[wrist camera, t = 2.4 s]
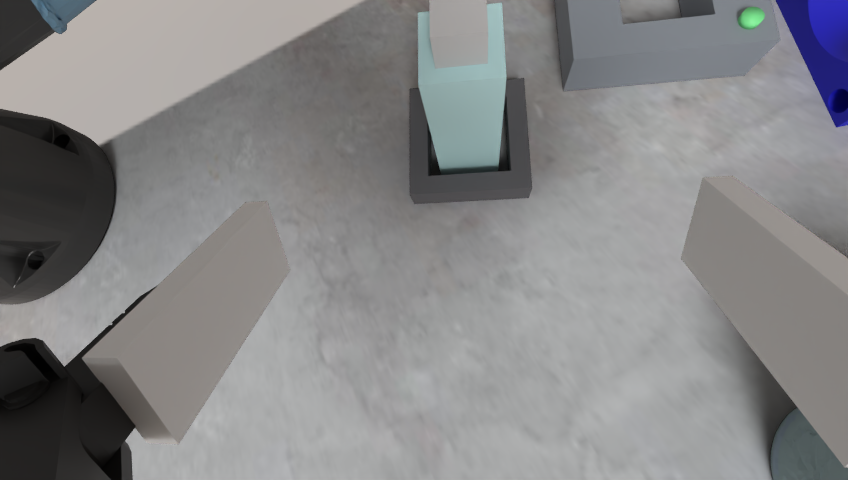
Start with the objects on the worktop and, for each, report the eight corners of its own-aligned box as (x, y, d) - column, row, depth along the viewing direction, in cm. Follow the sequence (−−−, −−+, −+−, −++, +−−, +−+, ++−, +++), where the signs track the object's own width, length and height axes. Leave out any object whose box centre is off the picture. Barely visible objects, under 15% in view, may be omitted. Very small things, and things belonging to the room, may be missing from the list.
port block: (563, 91, 29) (575, 54, 26) (552, -23, 32) (561, -72, 28) (744, 75, 28) (786, 33, 24) (718, -43, 30) (753, -99, 26)
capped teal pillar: (441, 176, 29) (410, 56, 17) (440, 126, 30) (410, -23, 18) (497, 172, 29) (509, 46, 16) (495, 121, 30) (503, -35, 17)
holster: (414, 203, 29) (409, 194, 27) (414, 104, 31) (409, 88, 29) (528, 197, 28) (532, 187, 26) (521, 94, 30) (524, 78, 28)
